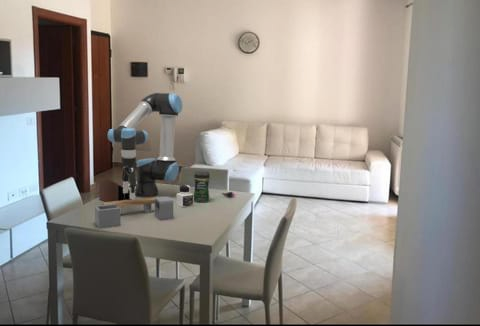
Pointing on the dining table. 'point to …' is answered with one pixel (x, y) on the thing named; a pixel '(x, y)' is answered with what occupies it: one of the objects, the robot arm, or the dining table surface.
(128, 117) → the robot arm
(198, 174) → the coffee jar
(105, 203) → the slat
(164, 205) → the frame
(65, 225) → the dining table surface
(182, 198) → the medicine bottle
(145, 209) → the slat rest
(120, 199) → the letter holder
